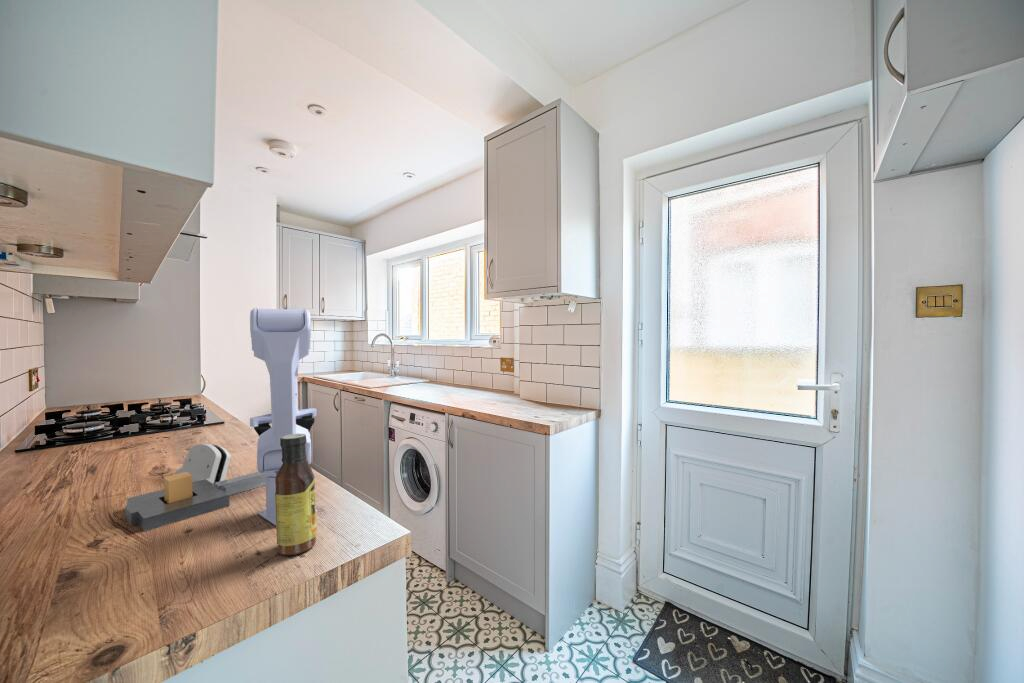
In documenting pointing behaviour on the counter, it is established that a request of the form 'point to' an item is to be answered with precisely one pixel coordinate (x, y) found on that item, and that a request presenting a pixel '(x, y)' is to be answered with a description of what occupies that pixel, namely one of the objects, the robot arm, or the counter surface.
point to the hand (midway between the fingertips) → (285, 450)
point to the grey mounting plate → (187, 501)
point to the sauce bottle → (295, 498)
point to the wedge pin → (177, 487)
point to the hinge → (206, 463)
